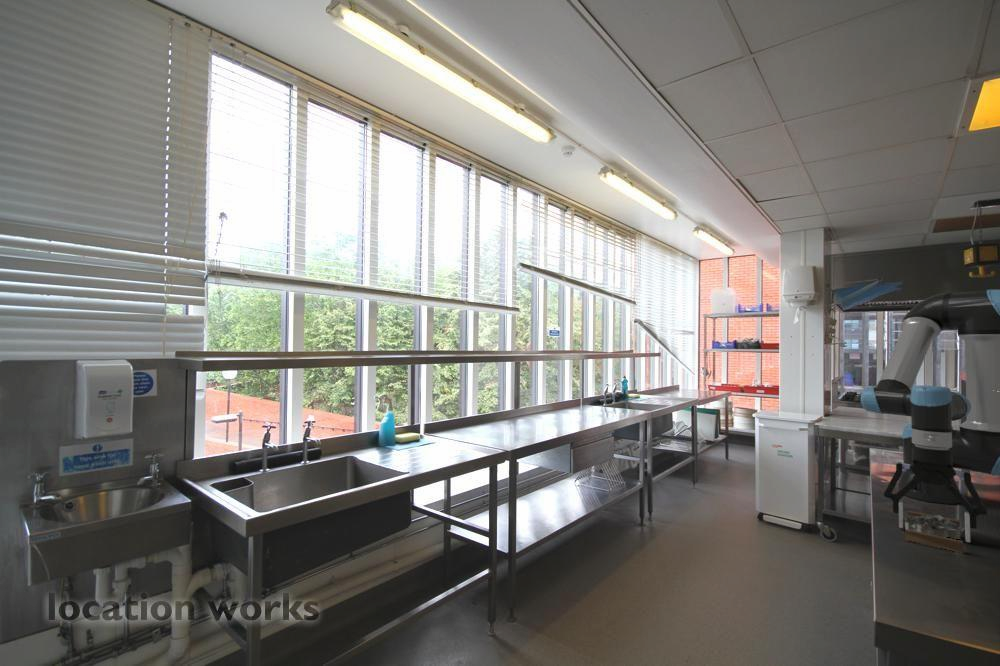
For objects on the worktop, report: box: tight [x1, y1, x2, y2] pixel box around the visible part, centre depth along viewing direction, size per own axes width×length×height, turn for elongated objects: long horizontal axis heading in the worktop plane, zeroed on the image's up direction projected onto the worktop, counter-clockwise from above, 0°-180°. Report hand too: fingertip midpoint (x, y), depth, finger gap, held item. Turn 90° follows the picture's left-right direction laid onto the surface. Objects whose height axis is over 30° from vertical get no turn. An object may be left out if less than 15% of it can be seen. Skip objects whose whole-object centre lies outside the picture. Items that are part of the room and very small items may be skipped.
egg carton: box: [903, 514, 965, 540], centre depth 115 cm, size 11×8×4 cm
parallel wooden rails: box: [904, 510, 964, 554], centre depth 115 cm, size 19×10×2 cm, turn 137°
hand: (933, 533), depth 115 cm, fingers closed on egg carton, 11 cm apart
